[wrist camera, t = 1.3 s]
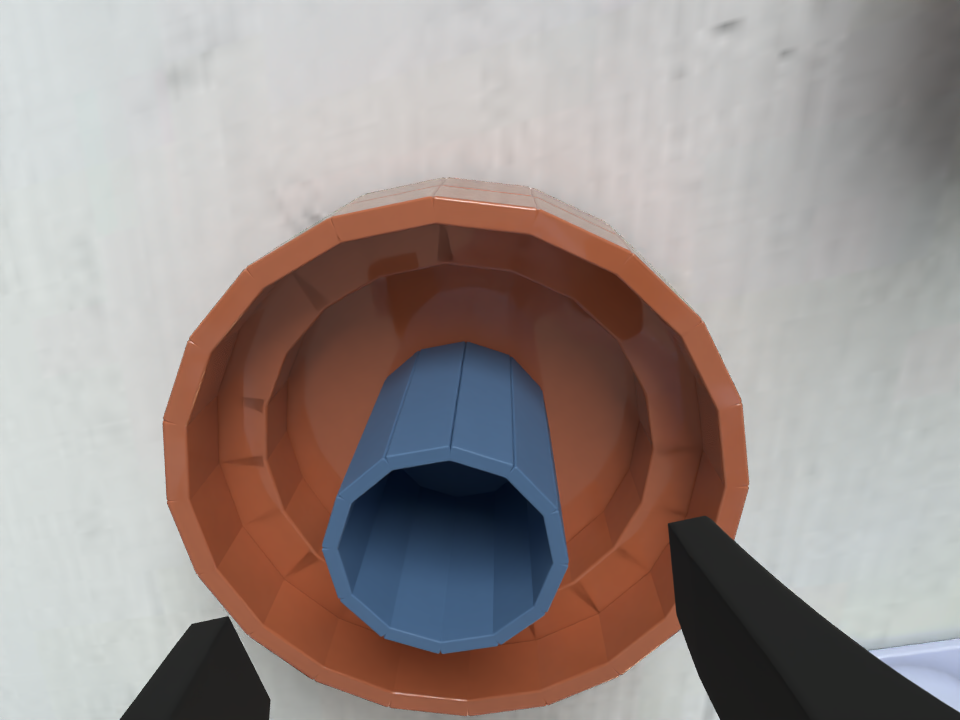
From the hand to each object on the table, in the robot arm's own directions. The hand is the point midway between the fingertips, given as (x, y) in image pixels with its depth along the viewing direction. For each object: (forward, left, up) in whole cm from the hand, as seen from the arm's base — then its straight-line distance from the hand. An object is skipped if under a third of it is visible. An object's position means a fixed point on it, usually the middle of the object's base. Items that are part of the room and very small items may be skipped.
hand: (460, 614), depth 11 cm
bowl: (-1, +1, -10) cm, 10 cm away
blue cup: (-1, +1, -10) cm, 10 cm away
